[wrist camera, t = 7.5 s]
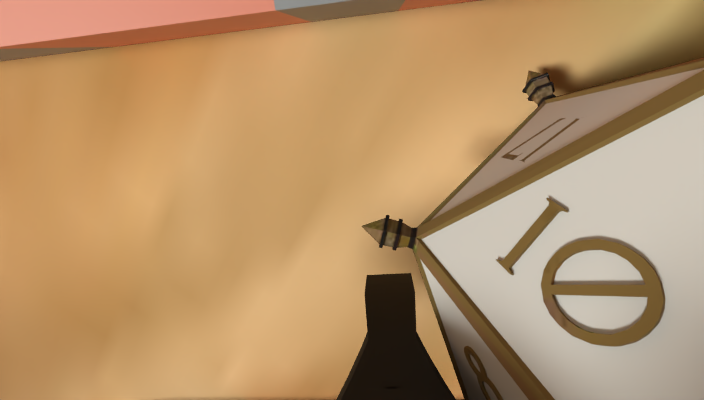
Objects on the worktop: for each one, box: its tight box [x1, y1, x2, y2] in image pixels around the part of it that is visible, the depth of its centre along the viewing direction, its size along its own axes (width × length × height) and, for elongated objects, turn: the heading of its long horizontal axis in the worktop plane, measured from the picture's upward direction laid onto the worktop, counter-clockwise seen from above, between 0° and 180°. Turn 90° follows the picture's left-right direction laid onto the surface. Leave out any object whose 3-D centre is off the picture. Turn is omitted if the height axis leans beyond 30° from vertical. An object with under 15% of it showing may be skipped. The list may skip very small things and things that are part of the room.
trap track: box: [0, 0, 479, 61], centre depth 9 cm, size 16×25×3 cm, turn 96°
